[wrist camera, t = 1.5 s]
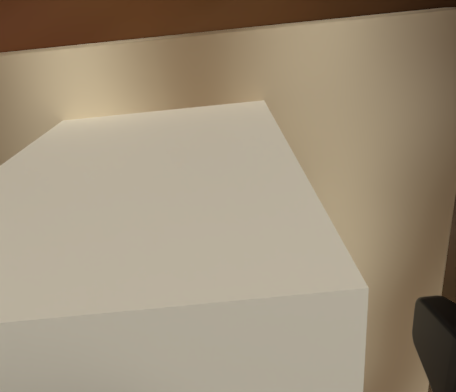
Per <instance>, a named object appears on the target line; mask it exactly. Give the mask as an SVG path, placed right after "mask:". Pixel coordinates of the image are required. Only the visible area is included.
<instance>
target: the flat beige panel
mask: <svg viewBox="0 0 456 392" xmlns="http://www.w3.org/2000/svg"><path fill="white" fill-rule="evenodd" d="M262 100H264V101H265V103H266V105H267V106H268V108H269V110H270V112H271V114H272V115H273V117H274V119H275V121H276V123H277V124H278V126H279V128H280V130H281V132H282V133H283V135H284V137H285V139H286V140H287V142H288V144H289V146H290V148H291V149H292V151H293V153H294V155H295V157H296V158H297V160H298V162H299V164H300V166H301V167H302V169H303V171H304V173H305V175H306V176H307V178H308V180H309V182H310V184H311V185H312V187H313V189H314V191H315V193H316V194H317V196H318V198H319V200H320V201H321V203H322V205H323V207H324V209H325V210H326V212H327V214H328V216H329V218H330V219H331V221H332V223H333V225H334V227H335V228H336V230H337V232H338V234H339V236H340V237H341V239H342V241H343V243H344V245H345V246H346V248H347V250H348V252H349V254H350V255H351V257H352V259H353V261H354V263H355V264H356V266H357V268H358V270H359V271H360V273H361V275H362V277H363V279H364V280H365V282H366V284H367V286H368V288H369V293H368V311H367V330H366V348H365V367H364V385H363V392H428V386H429V381H428V378H427V376H426V373H425V371H424V368H423V366H422V363H421V361H420V358H419V356H418V353H417V351H416V348H415V346H414V343H413V338H412V326H413V317H414V308H415V302H416V300H417V299H418V298H419V297H424V296H435V295H439V296H441V294H442V287H443V280H444V273H445V266H446V259H447V252H448V245H449V238H450V231H451V224H452V217H453V210H454V203H455V195H456V7H444V8H435V9H425V10H415V11H405V12H395V13H386V14H376V15H366V16H356V17H346V18H336V19H327V20H317V21H307V22H297V23H287V24H278V25H268V26H258V27H248V28H238V29H229V30H219V31H209V32H199V33H189V34H180V35H170V36H160V37H150V38H140V39H131V40H121V41H111V42H101V43H91V44H82V45H72V46H62V47H52V48H42V49H33V50H23V51H13V52H3V53H0V165H2V164H3V163H5V162H6V161H7V160H9V159H10V158H11V157H13V156H14V155H16V154H17V153H18V152H20V151H21V150H23V149H24V148H25V147H27V146H28V145H30V144H31V143H32V142H34V141H35V140H36V139H38V138H39V137H41V136H42V135H43V134H45V133H46V132H48V131H49V130H50V129H52V128H53V127H54V126H56V125H57V124H59V123H60V122H61V121H63V120H72V119H82V118H92V117H102V116H112V115H122V114H132V113H142V112H152V111H162V110H172V109H182V108H192V107H202V106H212V105H222V104H232V103H242V102H252V101H262Z"/></svg>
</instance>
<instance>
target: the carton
mask: <svg viewBox="0 0 456 392" xmlns="http://www.w3.org/2000/svg"><path fill="white" fill-rule="evenodd" d="M368 293H369V288H368V286H367V284H366V282H365V280H364V279H363V277H362V275H361V273H360V271H359V270H358V268H357V266H356V264H355V263H354V261H353V259H352V257H351V255H350V254H349V252H348V250H347V248H346V246H345V245H344V243H343V241H342V239H341V237H340V236H339V234H338V232H337V230H336V228H335V227H334V225H333V223H332V221H331V219H330V218H329V216H328V214H327V212H326V210H325V209H324V207H323V205H322V203H321V201H320V200H319V198H318V196H317V194H316V193H315V191H314V189H313V187H312V185H311V184H310V182H309V180H308V178H307V176H306V175H305V173H304V171H303V169H302V167H301V166H300V164H299V162H298V160H297V158H296V157H295V155H294V153H293V151H292V149H291V148H290V146H289V144H288V142H287V140H286V139H285V137H284V135H283V133H282V132H281V130H280V128H279V126H278V124H277V123H276V121H275V119H274V117H273V115H272V114H271V112H270V110H269V108H268V106H267V105H266V103H265V101H264V100H262V101H252V102H242V103H232V104H222V105H212V106H202V107H192V108H182V109H172V110H162V111H152V112H142V113H132V114H122V115H112V116H102V117H92V118H82V119H72V120H63V121H61V122H60V123H59V124H57V125H56V126H54V127H53V128H52V129H50V130H49V131H48V132H46V133H45V134H43V135H42V136H41V137H39V138H38V139H36V140H35V141H34V142H32V143H31V144H30V145H28V146H27V147H25V148H24V149H23V150H21V151H20V152H18V153H17V154H16V155H14V156H13V157H11V158H10V159H9V160H7V161H6V162H5V163H3V164H2V165H0V392H363V385H364V367H365V348H366V330H367V311H368Z"/></svg>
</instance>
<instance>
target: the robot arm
mask: <svg viewBox="0 0 456 392" xmlns="http://www.w3.org/2000/svg"><path fill="white" fill-rule="evenodd" d="M412 338H413V343H414V346H415V348H416V351H417V353H418V356H419V358H420V361H421V363H422V366H423V368H424V371H425V373H426V376H427V378H428V381H429V383H430V386H431V388H432V391H433V392H456V303H454V302H452V301H450V300H448V299H447V298H445V297H443V296H439V295H435V296H424V297H419V298H418V299H417V300H416V302H415V308H414V317H413V326H412Z"/></svg>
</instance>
